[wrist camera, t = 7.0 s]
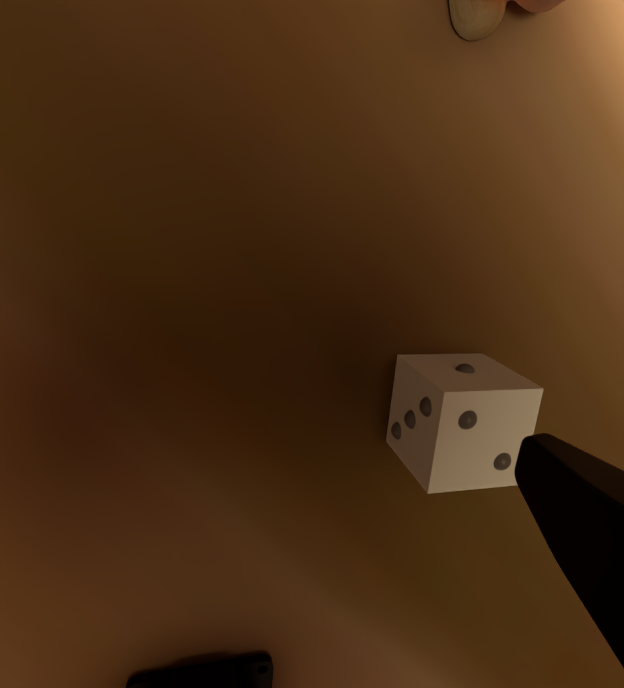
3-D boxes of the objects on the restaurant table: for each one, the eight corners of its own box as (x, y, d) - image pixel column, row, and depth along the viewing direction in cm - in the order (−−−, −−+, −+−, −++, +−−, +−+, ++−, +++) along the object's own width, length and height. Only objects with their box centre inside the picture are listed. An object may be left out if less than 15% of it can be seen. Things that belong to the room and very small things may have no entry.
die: (466, 435, 23) (526, 488, 19) (379, 440, 22) (424, 498, 18) (482, 347, 22) (550, 384, 18) (391, 348, 21) (442, 388, 17)
